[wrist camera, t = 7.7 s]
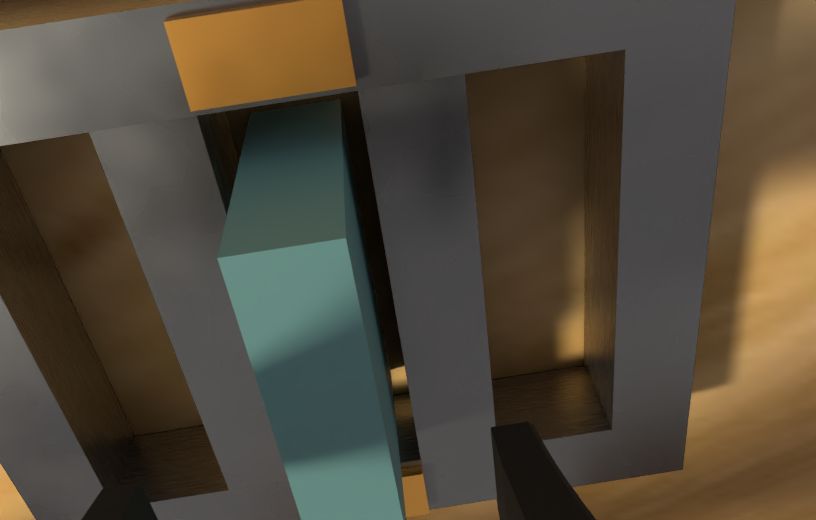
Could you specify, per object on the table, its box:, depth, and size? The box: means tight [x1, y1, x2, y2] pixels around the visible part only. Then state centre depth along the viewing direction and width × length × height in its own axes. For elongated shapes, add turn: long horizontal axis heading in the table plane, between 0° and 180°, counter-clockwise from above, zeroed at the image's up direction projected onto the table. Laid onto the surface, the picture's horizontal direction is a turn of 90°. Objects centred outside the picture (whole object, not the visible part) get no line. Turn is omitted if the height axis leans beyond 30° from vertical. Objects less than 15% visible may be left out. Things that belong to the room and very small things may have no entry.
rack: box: [0, 0, 736, 520], centre depth 17 cm, size 14×17×3 cm
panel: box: [217, 99, 406, 520], centre depth 16 cm, size 8×2×6 cm, turn 7°
